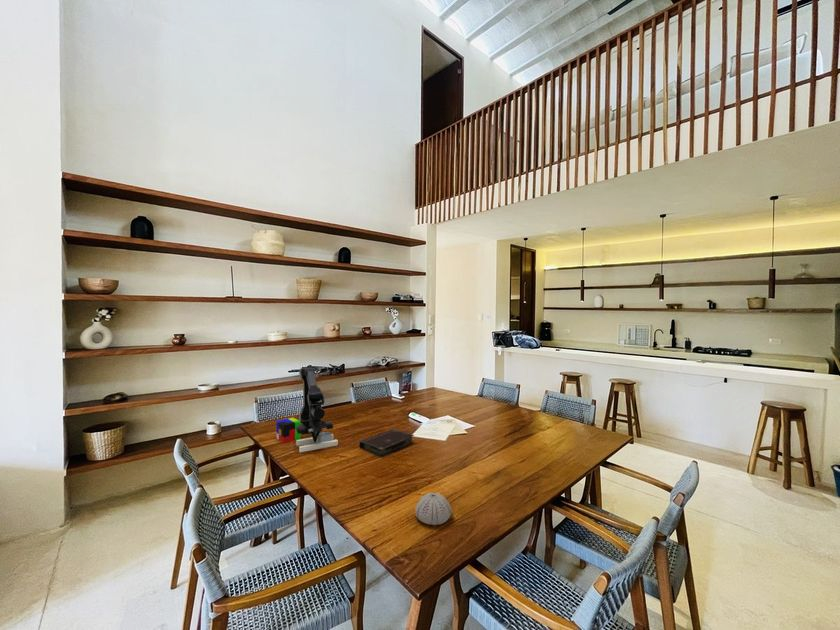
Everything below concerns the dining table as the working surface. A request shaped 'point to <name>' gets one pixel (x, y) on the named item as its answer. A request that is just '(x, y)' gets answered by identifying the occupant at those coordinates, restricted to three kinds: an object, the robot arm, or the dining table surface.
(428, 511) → the sea urchin shell
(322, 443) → the chute
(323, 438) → the block
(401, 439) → the diary
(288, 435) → the puzzle toy
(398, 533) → the dining table surface
